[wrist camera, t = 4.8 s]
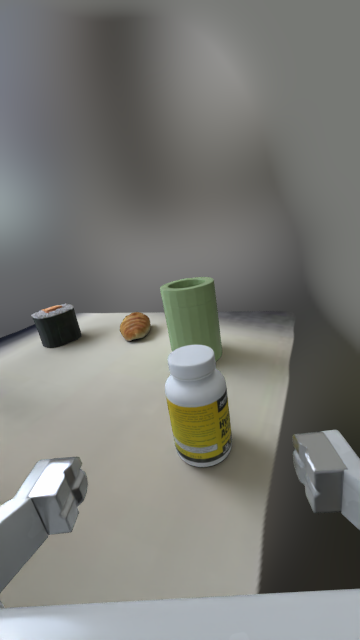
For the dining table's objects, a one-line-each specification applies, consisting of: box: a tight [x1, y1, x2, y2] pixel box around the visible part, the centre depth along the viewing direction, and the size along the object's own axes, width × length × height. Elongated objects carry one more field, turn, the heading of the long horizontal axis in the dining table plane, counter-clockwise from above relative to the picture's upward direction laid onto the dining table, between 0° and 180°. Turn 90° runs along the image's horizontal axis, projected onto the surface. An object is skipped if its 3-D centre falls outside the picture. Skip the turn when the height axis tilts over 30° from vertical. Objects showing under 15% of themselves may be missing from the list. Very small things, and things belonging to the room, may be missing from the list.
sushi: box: [32, 303, 81, 348], centre depth 60 cm, size 8×8×8 cm
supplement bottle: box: [165, 345, 232, 467], centre depth 24 cm, size 5×5×10 cm
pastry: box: [120, 312, 151, 341], centre depth 56 cm, size 9×7×4 cm
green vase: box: [160, 277, 222, 361], centre depth 41 cm, size 8×8×12 cm
